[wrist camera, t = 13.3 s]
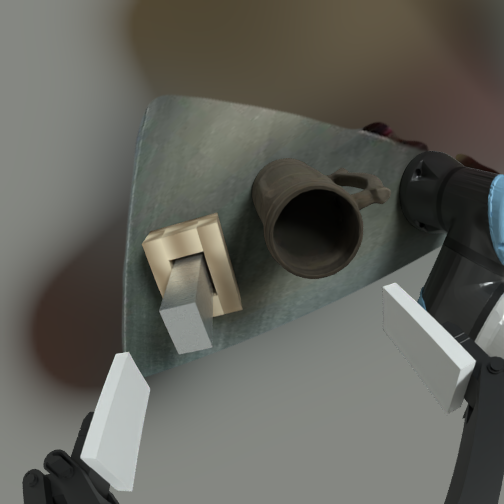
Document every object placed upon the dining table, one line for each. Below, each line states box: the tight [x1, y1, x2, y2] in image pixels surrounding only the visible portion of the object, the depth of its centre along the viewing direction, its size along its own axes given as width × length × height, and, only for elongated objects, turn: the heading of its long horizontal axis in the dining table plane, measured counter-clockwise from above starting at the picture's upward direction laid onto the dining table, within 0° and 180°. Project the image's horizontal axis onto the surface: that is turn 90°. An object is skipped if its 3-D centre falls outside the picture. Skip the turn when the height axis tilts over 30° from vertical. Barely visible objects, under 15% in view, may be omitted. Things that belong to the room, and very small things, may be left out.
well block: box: [142, 213, 242, 317], centre depth 47 cm, size 11×14×6 cm
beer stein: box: [252, 158, 391, 279], centre depth 38 cm, size 15×11×20 cm
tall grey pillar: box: [159, 251, 213, 354], centre depth 40 cm, size 4×6×18 cm, turn 14°
